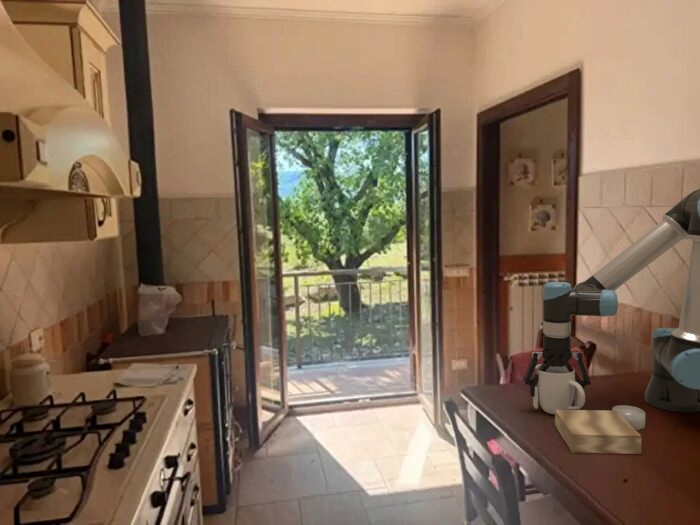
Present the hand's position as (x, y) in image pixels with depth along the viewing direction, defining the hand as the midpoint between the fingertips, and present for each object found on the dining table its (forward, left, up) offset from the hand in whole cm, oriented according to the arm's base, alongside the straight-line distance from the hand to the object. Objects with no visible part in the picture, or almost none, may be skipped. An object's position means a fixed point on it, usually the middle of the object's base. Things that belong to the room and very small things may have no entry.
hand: (556, 407), depth 153 cm
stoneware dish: (-17, +8, -2) cm, 19 cm away
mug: (-1, 0, -2) cm, 2 cm away
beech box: (-5, +18, -2) cm, 19 cm away
